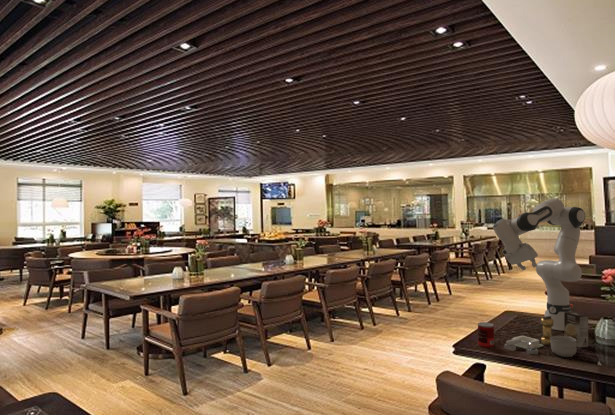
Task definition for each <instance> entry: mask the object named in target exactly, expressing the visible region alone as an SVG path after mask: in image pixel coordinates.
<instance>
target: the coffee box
mask: <svg viewBox="0 0 615 415" xmlns="http://www.w3.org/2000/svg"><path fill="white" fill-rule="evenodd" d="M563 335H564V336H566V337H569V336H570V337H572V338H574V339H576V346H577V348H587V347H589V315H588V314H586V313H582V312H577V311H574V310H571V311H570V312H564V332H563Z"/></svg>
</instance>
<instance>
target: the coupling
mask: <svg viewBox="0 0 615 415" xmlns="http://www.w3.org/2000/svg"><path fill="white" fill-rule="evenodd" d="M540 325H541V326H542V336H541V337H540V341H541V343H540V344H541V345H544V346H547V347H548V346H549V347H551V339H550V337H553V331H552V330H553V329H552V326H553V319H551V316H545V315H544V316H543V317H540Z"/></svg>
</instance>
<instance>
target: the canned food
mask: <svg viewBox="0 0 615 415" xmlns="http://www.w3.org/2000/svg"><path fill="white" fill-rule="evenodd" d="M477 344H478V346H479V347H481V348H485V349H491V348H493V347H494V346H495V324H493V323H491V322H486V321H484V322H483V321H481V322H478V323H477Z"/></svg>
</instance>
